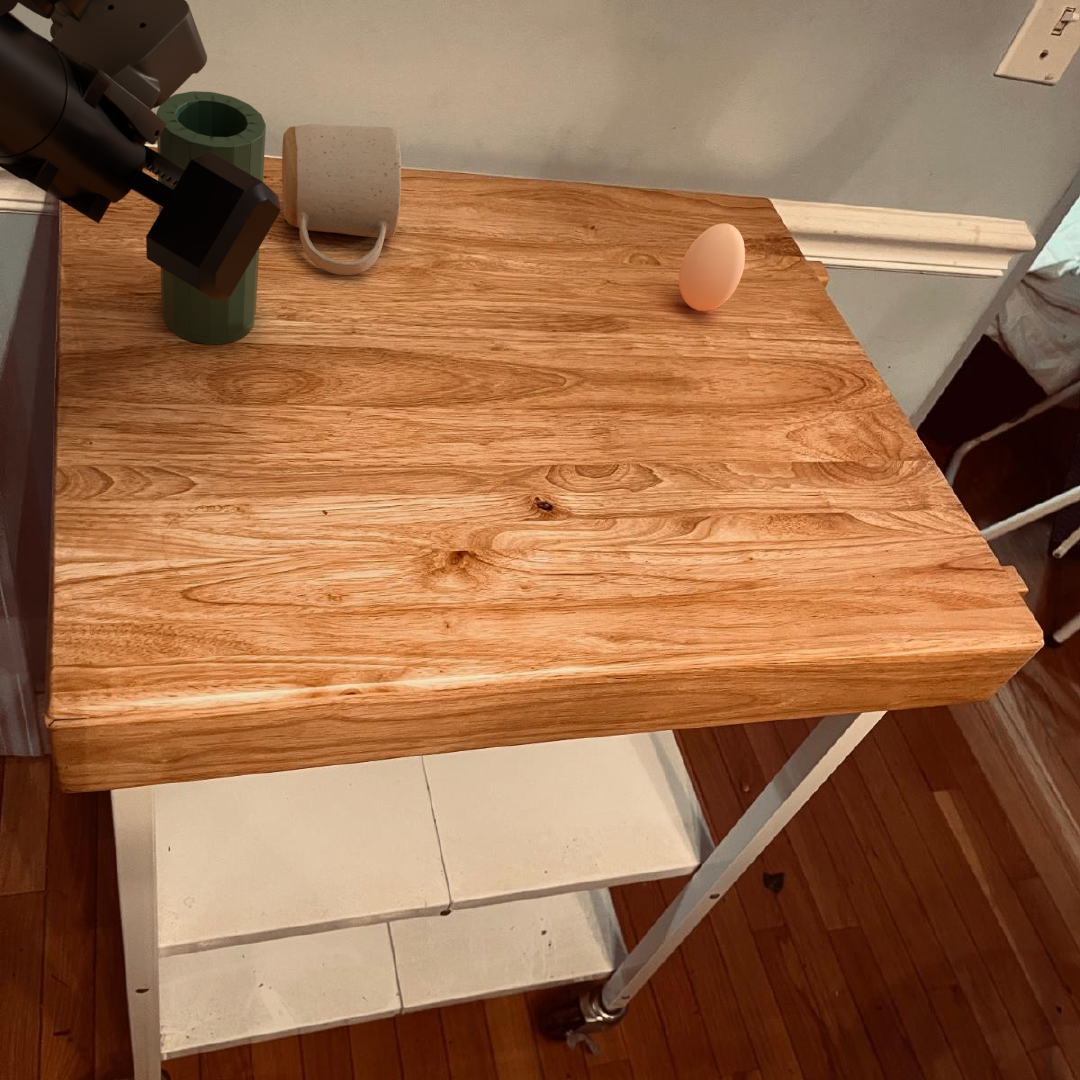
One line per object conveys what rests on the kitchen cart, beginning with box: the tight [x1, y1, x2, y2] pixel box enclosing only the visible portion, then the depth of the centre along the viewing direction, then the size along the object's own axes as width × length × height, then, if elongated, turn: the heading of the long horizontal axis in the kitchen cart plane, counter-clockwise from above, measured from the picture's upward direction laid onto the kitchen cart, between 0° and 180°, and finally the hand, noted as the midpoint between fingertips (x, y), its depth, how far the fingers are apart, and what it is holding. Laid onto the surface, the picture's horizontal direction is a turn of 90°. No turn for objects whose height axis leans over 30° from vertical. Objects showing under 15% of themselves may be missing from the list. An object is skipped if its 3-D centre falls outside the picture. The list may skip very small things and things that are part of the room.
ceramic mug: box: [281, 123, 402, 276], centre depth 77 cm, size 11×8×8 cm
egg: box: [678, 223, 746, 312], centre depth 82 cm, size 5×5×7 cm
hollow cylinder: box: [156, 90, 267, 345], centre depth 65 cm, size 6×6×14 cm
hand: (186, 220), depth 63 cm, fingers open, 9 cm apart
